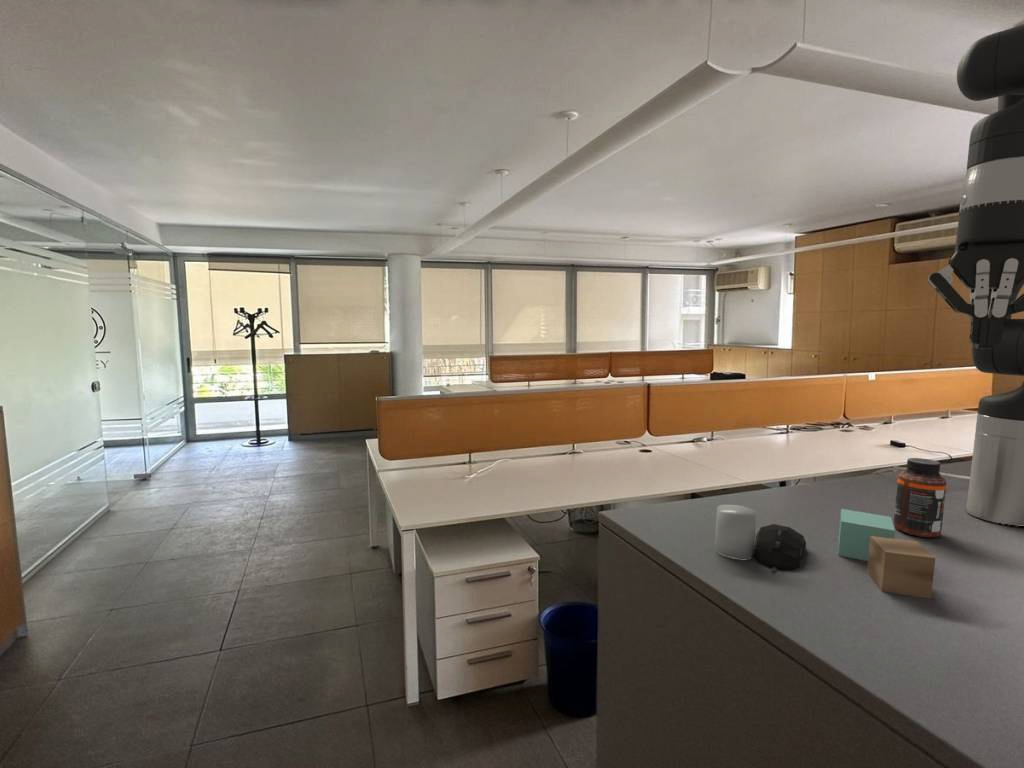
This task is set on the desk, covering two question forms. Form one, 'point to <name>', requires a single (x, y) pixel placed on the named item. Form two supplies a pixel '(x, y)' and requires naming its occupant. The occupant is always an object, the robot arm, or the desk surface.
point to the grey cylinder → (735, 531)
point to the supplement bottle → (920, 498)
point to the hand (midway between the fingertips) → (983, 348)
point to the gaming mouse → (779, 548)
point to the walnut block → (901, 566)
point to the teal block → (861, 532)
